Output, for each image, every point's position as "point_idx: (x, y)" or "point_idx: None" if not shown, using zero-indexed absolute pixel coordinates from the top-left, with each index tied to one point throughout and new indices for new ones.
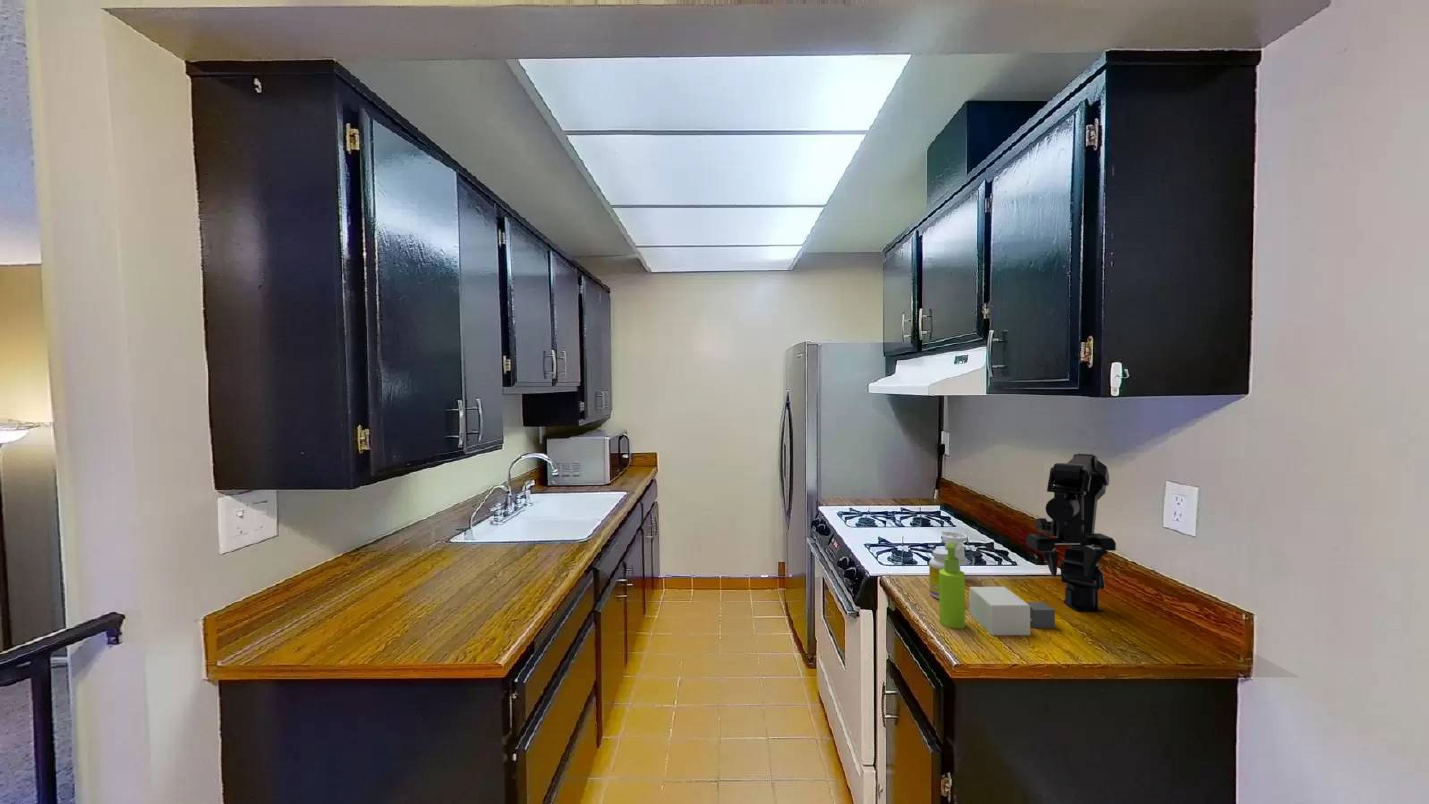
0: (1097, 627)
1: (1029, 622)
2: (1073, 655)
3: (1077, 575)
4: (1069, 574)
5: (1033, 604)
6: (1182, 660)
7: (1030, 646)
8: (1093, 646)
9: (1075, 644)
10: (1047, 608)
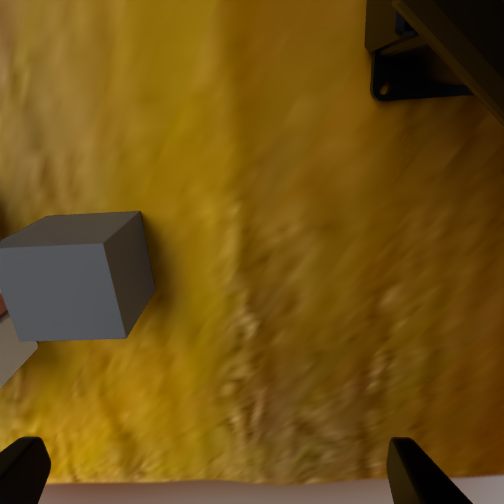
0: (341, 278)
1: (2, 383)
2: (133, 454)
3: (492, 109)
4: (429, 43)
5: (33, 275)
6: None
7: (21, 412)
8: (225, 410)
9: (172, 400)
10: (94, 322)
